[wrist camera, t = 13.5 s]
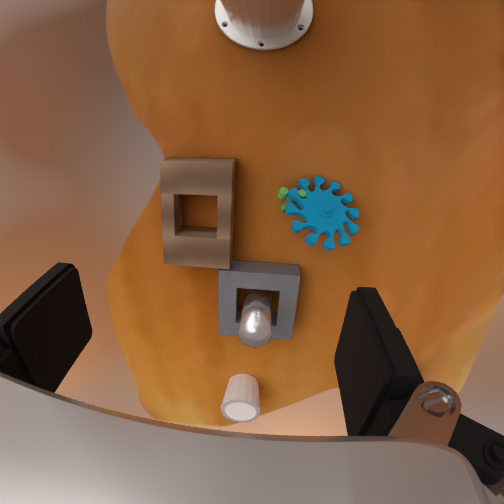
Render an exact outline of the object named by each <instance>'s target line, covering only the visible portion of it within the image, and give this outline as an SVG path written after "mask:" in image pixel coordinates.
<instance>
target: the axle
mask: <svg viewBox="0 0 504 504" xmlns="http://www.w3.org/2000/svg"><path fill="white" fill-rule="evenodd" d="M239 338H240V340H241V342H242V343H244V344H245V345H247V346H249V347H261V346H264V345H266V344H267V343H268V342H269V340H270V338H271V291H270V290H260V289H246V291H245V296H244V303H243V309H242V316H241V322H240V329H239Z"/></svg>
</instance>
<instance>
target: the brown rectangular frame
mask: <svg viewBox="0 0 504 504" xmlns="http://www.w3.org/2000/svg"><path fill="white" fill-rule="evenodd" d="M160 170H161V171H160V174H161V214H162V236H163V253H164V264H169V265H181V266H193V267H206V268H219V269H230V265H231V262H232V258H233V233H234V205H235V179H236V159H234V158H205V157H169V158H166V159H164V160H161V161H160ZM182 194H189V195H212V196H218V200H217V228H206V227H189V226H183V224H182Z"/></svg>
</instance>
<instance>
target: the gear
mask: <svg viewBox="0 0 504 504" xmlns="http://www.w3.org/2000/svg"><path fill="white" fill-rule="evenodd" d="M324 181H325V179H324V178H322V177H320V176H316V177H315V178H314V180H313V183H314V192H311V191H309V190H308V185H309V180H308V179H300V180H299V181H298V187H299V188H300V189H301V190H299V191H298V190H297V189H296V188H292V189H291V190H290V191H289V192H288V189H287V188H286V187H281V188H280V190H279V192H278V194H277V196H278V198H279V199H282V201H283V204H282V206H281V210H282V211H285V214H286V215H288V216H291V215H295V216H299V217H301V218H303V219H304V220H305V223H302V222H300V221H298V220H295V221H293V222H292V224H291V228H292V230H293V232H294V233H298V232H299V231H301V230H302V229H306V228H307V229H308V230H309V231H312V230H314V231H315V234H309V235H308V236H307V237H306V238H305V242H306V243H307V244H308V245H309V246H313V245H314V244H315V243H316V242H317V239H318V236H319V235H321V234H326V235H327V236H328V239H327V240H326V241H325V242H324V243H323V245H322V247H323V249H325V250H329V251H331V250H333V249H334V247H335V243H334V233H335V232H338V233H339V235H340V238H339V240H338V243H339V245H340V246H346V245H348V244H349V243H350V242H351V240H350V238H349V237H348V236H347V234H346V233H345V231H344V227H343V224H345V225H346V226H347V228H348V232H349V234H350V235H354V234H355V233H356V232H357V231H358V230H359V226H358V225H357V224H354V223H352V222H351V221H350V220H349V219H348V218H347V216H346V215H345V213H347V214H348V215H349V216H350V218H351V219H353V220H356V219H357V218H358V217H359V210H358V209H357V208H348V207H346V206H344V205H343V204H342V203H341V201H342V202H344V203H345V204H350V203H351V202H352V201H353V198H352V196H351V194H350V193H346V194H345V195H343V196H335V195H333V194H332V192H337V191H338V190H339V189H340V187H341V186H340V185H339V184H338V183H337V182H336V181H333V182H332V183H331V184H330V186H329V189H328V190H326V191H323V190H321V189H320V186H322V184H323V183H324Z"/></svg>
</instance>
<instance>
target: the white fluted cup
mask: <svg viewBox="0 0 504 504" xmlns="http://www.w3.org/2000/svg"><path fill="white" fill-rule="evenodd" d="M221 413H222V414H223V415H224V417H226V418H228V419H229V420H232V421H235V422H249V421H253V420H255V419H257V418H258V416H259V415H260V401H259V386H258V382H257V380H256V379H255V378H254V377H253V376H250V375H247V374H238V375H234V376H233V377H231V378H230V380H229V382H228V385H227V389H226V392H225V395H224V399H223V402H222V405H221Z"/></svg>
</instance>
